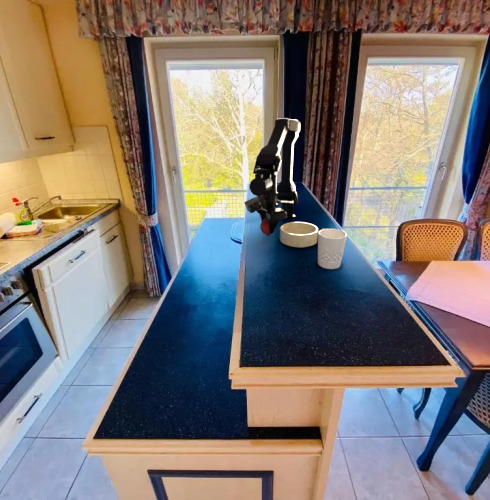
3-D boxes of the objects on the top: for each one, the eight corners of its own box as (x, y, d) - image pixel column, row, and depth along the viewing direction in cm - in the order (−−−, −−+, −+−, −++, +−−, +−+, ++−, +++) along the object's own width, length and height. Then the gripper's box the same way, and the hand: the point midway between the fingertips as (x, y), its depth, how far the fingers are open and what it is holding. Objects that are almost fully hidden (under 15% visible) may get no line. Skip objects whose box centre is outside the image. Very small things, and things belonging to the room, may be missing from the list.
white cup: (324, 255, 90) (328, 226, 85) (347, 263, 84) (352, 233, 80) (310, 264, 85) (313, 233, 80) (333, 273, 79) (337, 241, 75)
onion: (270, 239, 102) (271, 219, 99) (257, 236, 105) (257, 216, 101) (278, 234, 107) (278, 214, 103) (265, 231, 109) (265, 212, 106)
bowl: (273, 237, 104) (274, 224, 102) (304, 232, 108) (305, 220, 106) (290, 251, 93) (291, 237, 91) (324, 245, 97) (325, 231, 95)
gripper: (238, 186, 104) (239, 225, 110) (256, 197, 88) (257, 243, 94) (265, 183, 107) (265, 221, 114) (288, 194, 91) (286, 238, 98)
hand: (267, 230), depth 105 cm, fingers closed on onion, 6 cm apart
